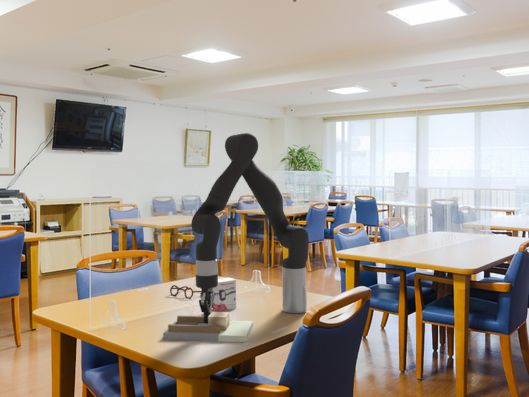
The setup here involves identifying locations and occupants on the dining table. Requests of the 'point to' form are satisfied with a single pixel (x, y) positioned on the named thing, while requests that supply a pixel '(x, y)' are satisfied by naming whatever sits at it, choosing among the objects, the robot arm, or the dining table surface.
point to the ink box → (225, 294)
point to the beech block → (219, 319)
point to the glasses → (183, 290)
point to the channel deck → (207, 330)
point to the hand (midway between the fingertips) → (207, 322)
